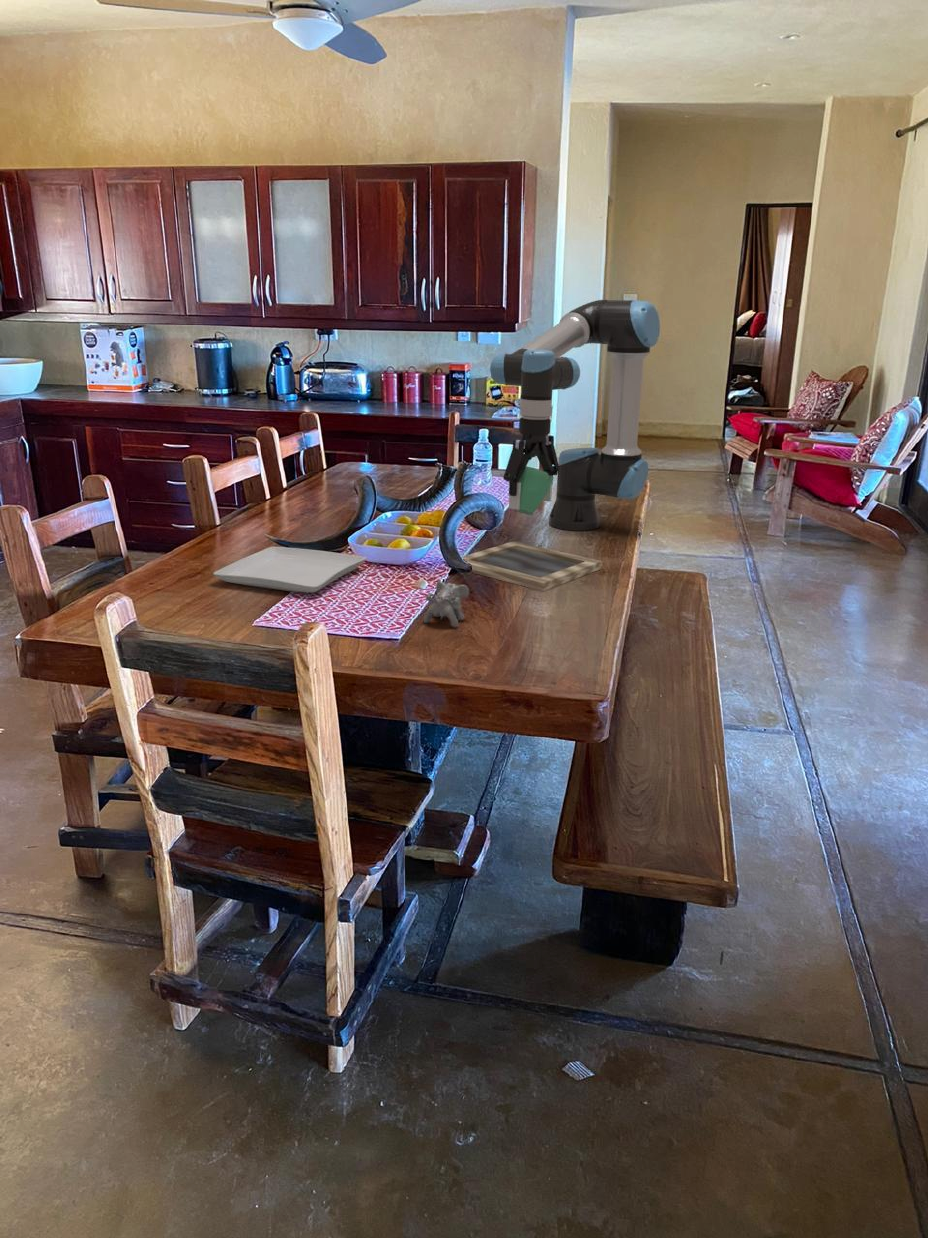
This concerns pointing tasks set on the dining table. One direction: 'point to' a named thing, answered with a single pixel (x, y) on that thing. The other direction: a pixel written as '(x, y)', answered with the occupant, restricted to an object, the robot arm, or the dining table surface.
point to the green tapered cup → (533, 489)
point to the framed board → (530, 565)
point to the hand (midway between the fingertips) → (530, 504)
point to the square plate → (290, 569)
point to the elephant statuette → (447, 603)
